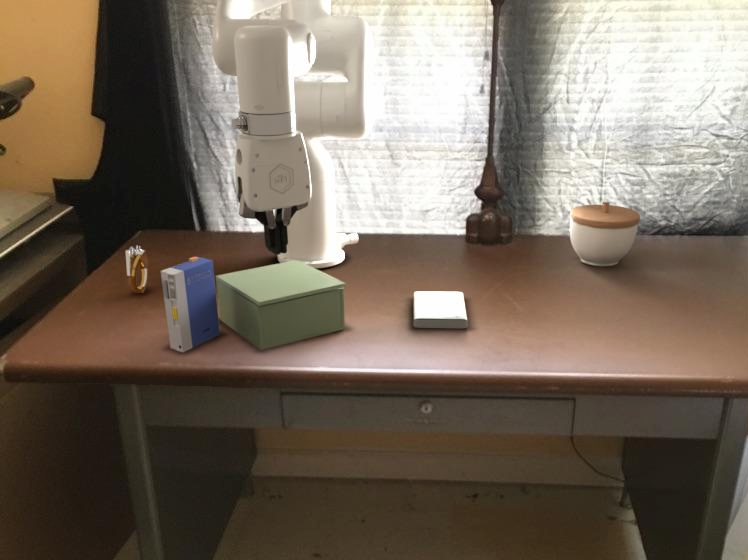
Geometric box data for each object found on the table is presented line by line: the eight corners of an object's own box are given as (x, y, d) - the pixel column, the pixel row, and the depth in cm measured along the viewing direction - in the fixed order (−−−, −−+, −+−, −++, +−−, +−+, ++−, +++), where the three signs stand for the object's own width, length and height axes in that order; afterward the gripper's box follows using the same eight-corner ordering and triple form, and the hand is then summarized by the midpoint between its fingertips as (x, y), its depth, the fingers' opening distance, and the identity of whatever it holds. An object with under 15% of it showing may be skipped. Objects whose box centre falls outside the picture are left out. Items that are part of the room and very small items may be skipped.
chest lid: (345, 287, 125) (345, 283, 125) (259, 306, 118) (259, 302, 118) (297, 263, 136) (297, 259, 136) (216, 279, 129) (215, 275, 129)
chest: (344, 329, 129) (343, 288, 126) (261, 350, 122) (257, 307, 119) (299, 302, 139) (297, 263, 136) (219, 319, 132) (216, 279, 129)
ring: (141, 300, 140) (135, 253, 136) (123, 299, 140) (116, 252, 136) (158, 286, 146) (152, 241, 142) (140, 285, 146) (134, 240, 142)
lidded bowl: (642, 257, 162) (650, 200, 157) (620, 275, 152) (628, 214, 147) (580, 246, 168) (586, 191, 163) (555, 263, 158) (560, 204, 153)
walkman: (206, 331, 128) (198, 254, 123) (220, 334, 127) (212, 257, 121) (168, 348, 122) (158, 268, 117) (182, 352, 121) (172, 272, 115)
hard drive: (467, 319, 129) (463, 290, 140) (413, 318, 129) (413, 290, 140) (467, 329, 130) (462, 300, 141) (413, 328, 130) (413, 299, 141)
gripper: (230, 134, 110) (242, 268, 119) (329, 122, 117) (333, 248, 126) (206, 125, 115) (219, 254, 124) (302, 113, 123) (308, 236, 132)
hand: (277, 251), depth 125 cm, fingers closed
